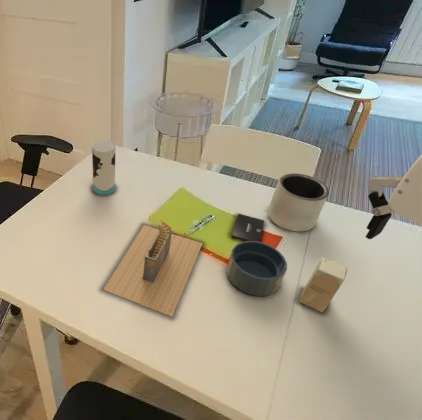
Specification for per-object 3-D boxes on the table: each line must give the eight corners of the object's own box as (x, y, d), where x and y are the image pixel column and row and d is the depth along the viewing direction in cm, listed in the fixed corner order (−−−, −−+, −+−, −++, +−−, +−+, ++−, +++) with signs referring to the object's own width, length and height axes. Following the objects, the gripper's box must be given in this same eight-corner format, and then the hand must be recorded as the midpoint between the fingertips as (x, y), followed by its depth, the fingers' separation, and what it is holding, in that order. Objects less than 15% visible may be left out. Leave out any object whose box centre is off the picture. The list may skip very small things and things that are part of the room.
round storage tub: (290, 283, 87) (298, 265, 83) (255, 305, 82) (262, 288, 78) (249, 251, 94) (255, 234, 91) (215, 270, 89) (220, 253, 86)
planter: (297, 202, 110) (311, 170, 103) (324, 230, 101) (340, 197, 94) (258, 206, 109) (269, 175, 102) (281, 235, 99) (294, 202, 92)
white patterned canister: (115, 182, 118) (115, 140, 109) (114, 195, 113) (115, 152, 104) (93, 182, 118) (92, 139, 109) (92, 194, 113) (91, 151, 104)
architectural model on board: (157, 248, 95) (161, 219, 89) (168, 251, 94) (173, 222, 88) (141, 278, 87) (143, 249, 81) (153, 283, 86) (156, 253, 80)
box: (298, 302, 82) (316, 268, 75) (303, 289, 85) (320, 255, 78) (324, 313, 80) (345, 279, 73) (328, 300, 83) (348, 266, 76)
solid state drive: (263, 222, 103) (264, 220, 103) (258, 245, 96) (259, 243, 96) (237, 215, 105) (238, 213, 105) (231, 237, 98) (231, 235, 98)
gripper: (598, 173, 38) (491, 283, 49) (416, 113, 50) (361, 213, 60) (575, 195, 35) (466, 308, 46) (386, 126, 47) (334, 229, 57)
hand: (406, 254), depth 53 cm, fingers open, 9 cm apart
